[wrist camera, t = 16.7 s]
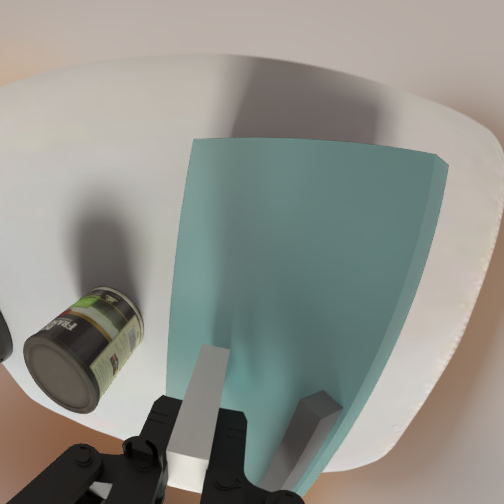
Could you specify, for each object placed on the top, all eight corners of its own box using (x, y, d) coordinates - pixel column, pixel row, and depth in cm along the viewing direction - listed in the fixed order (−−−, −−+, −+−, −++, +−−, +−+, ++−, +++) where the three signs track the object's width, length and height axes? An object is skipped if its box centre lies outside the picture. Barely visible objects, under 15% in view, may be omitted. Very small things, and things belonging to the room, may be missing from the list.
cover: (174, 425, 26) (156, 428, 25) (207, 141, 19) (179, 136, 18) (253, 550, 13) (230, 559, 12) (449, 164, 6) (418, 141, 5)
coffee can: (71, 296, 37) (10, 342, 23) (123, 277, 35) (59, 329, 22) (103, 355, 39) (56, 413, 25) (156, 345, 37) (114, 415, 24)
